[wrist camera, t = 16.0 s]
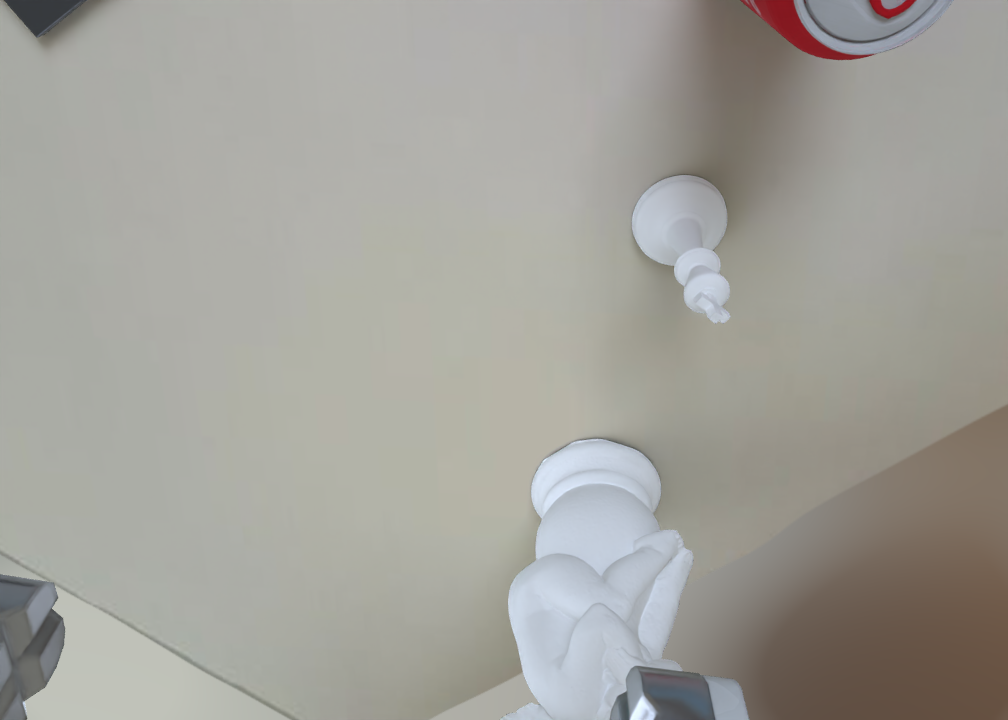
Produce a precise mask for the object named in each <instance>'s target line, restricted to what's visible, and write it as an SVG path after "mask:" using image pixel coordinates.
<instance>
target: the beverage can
mask: <svg viewBox="0 0 1008 720" xmlns="http://www.w3.org/2000/svg"><path fill="white" fill-rule="evenodd" d="M740 1H742V2H743V3H744V4H745V5H746V6H747V7H749V8H750V9H751V10H752V11H753V12H755V13H756V14H757V15H758V16H759V17H761V18H762V19H763V20H764V21H765V22H767V23H768V24H769V25H770V26H771V27H773V28H774V29H775V30H776V31H777V32H778V33H780V34H781V35H782V36H783V37H784V38H786V39H787V40H788V41H789V42H791V43H792V44H793V45H794V46H796V47H797V48H799V49H800V50H802V51H804V52H806V53H808V54H811V55H814V56H816V57H821V58H825V59H833V60H852V59H859V58H864V57H868V56H872V55H874V54H877V53H881V52H885V51H888V50H891V49H894V48H897V47H899V46H901V45H903V44H905V43H907V42H909V41H911V40H913V39H914V38H916V37H917V36H919V35H920V34H922V33H923V32H924V31H926V30H927V29H928V28H929V27H930V26H932V25H933V24H934V23H935V22H936V21H937V20H938V19H939V18H940V17H941V16H942V15H943V13H944V12H945V11H946V10H947V9H948V8H949V6H950V5H951V3H952V2H953V1H954V0H740Z"/></svg>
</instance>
